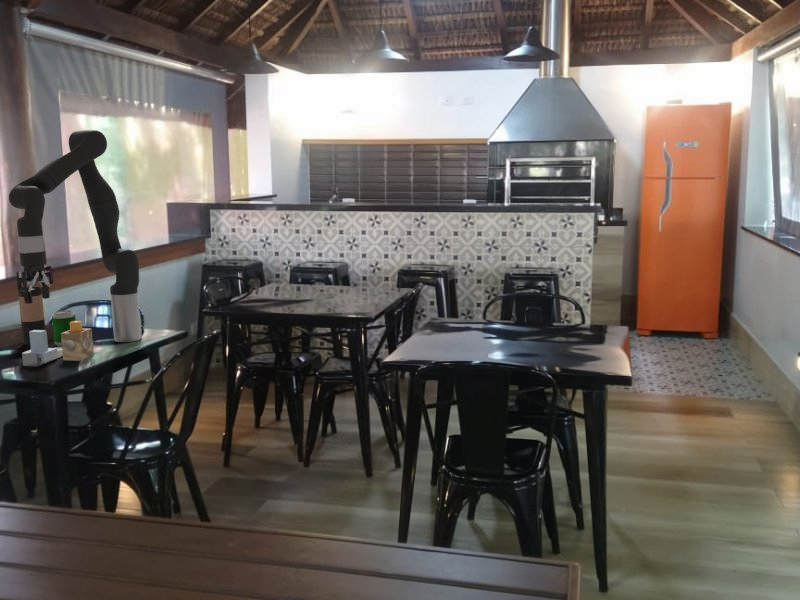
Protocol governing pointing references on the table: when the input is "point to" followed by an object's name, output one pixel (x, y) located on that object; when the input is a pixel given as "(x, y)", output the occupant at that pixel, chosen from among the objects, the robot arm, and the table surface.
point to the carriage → (41, 346)
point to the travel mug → (31, 313)
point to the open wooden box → (77, 344)
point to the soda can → (61, 324)
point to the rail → (34, 359)
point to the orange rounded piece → (76, 326)
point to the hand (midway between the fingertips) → (37, 300)
